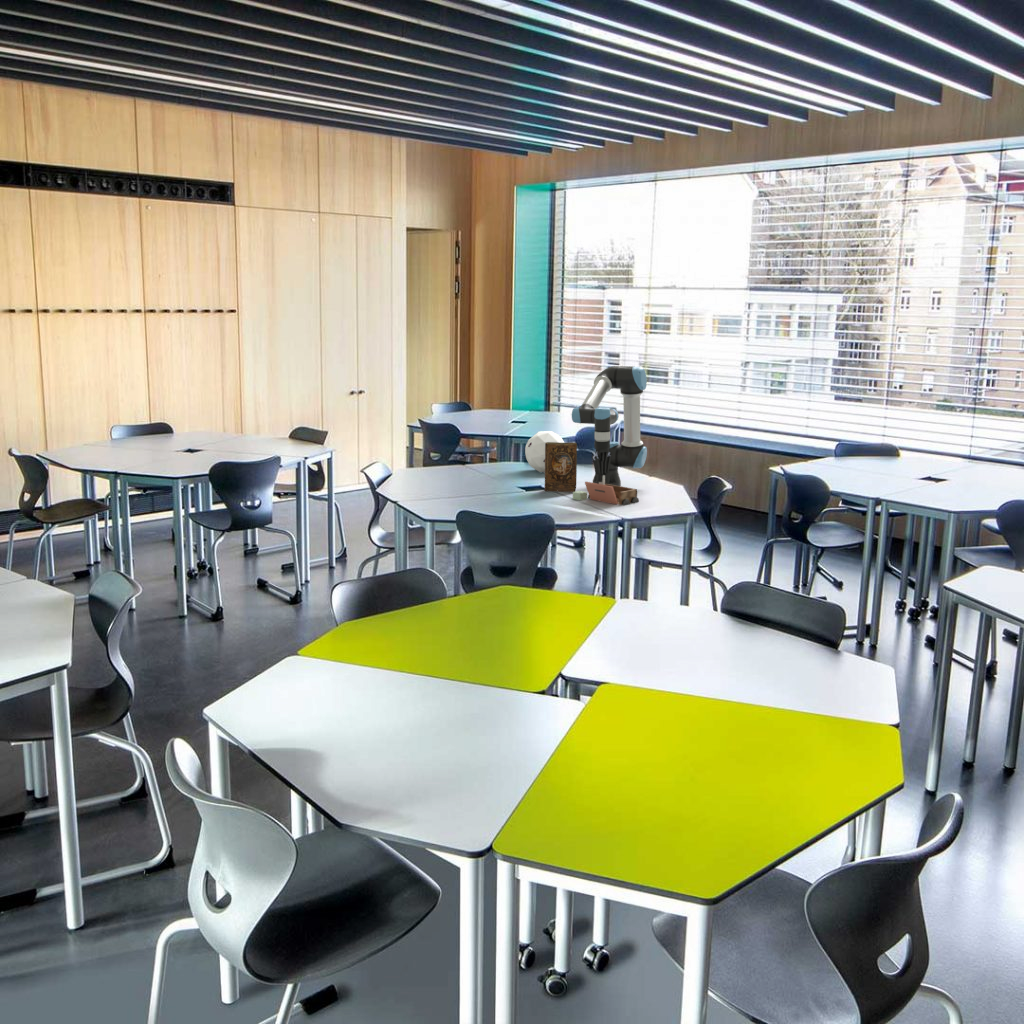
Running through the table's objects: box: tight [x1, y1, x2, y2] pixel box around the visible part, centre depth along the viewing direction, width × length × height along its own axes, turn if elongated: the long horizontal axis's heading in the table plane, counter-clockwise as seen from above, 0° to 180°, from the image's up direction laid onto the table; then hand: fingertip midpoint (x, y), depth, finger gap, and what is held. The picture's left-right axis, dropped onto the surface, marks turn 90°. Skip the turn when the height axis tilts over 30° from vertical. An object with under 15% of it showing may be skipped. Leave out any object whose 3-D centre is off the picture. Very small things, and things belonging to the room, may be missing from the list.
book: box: [544, 442, 578, 493], centre depth 512 cm, size 16×6×25 cm, turn 84°
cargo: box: [572, 490, 588, 501], centre depth 488 cm, size 5×5×5 cm
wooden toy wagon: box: [587, 484, 640, 506], centre depth 485 cm, size 12×23×8 cm, turn 44°
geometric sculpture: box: [524, 430, 565, 473], centre depth 568 cm, size 25×25×25 cm
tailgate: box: [584, 481, 619, 505], centre depth 478 cm, size 1×17×10 cm, turn 44°
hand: (601, 488), depth 478 cm, fingers closed
